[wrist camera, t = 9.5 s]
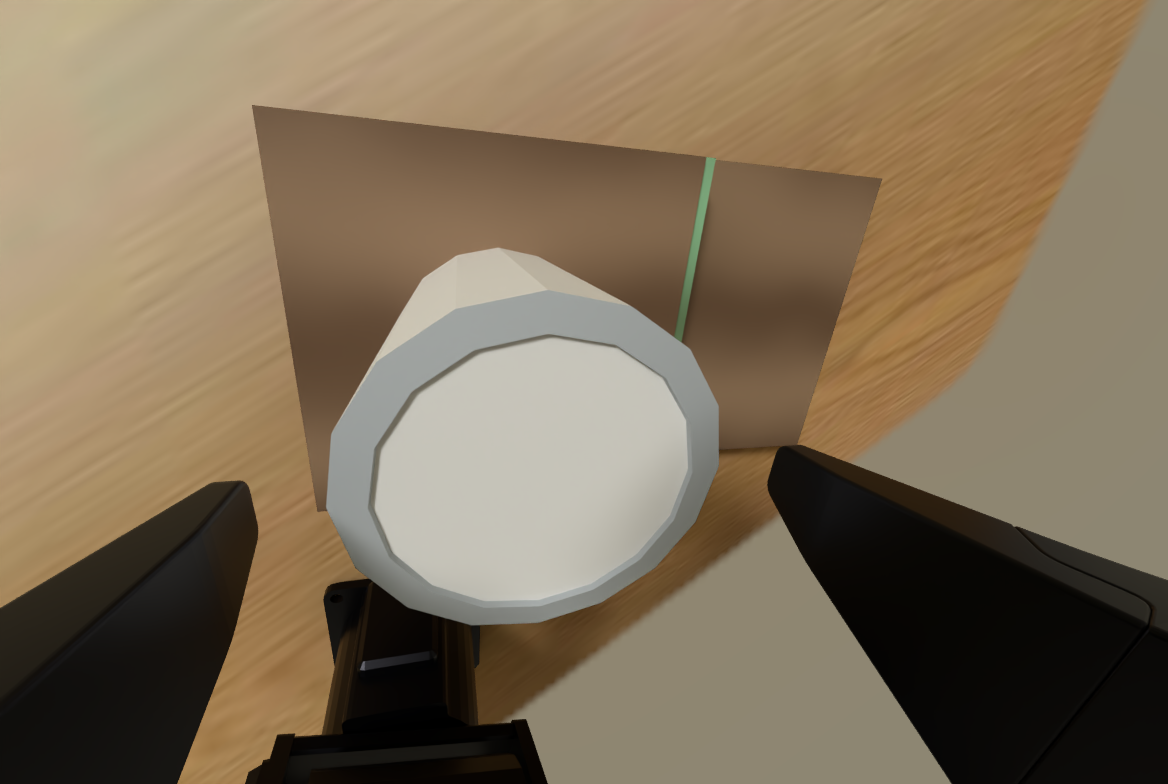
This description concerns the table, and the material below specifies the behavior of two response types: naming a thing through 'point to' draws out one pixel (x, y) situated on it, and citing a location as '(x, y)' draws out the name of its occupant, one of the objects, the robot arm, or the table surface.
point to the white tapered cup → (519, 445)
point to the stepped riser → (558, 251)
